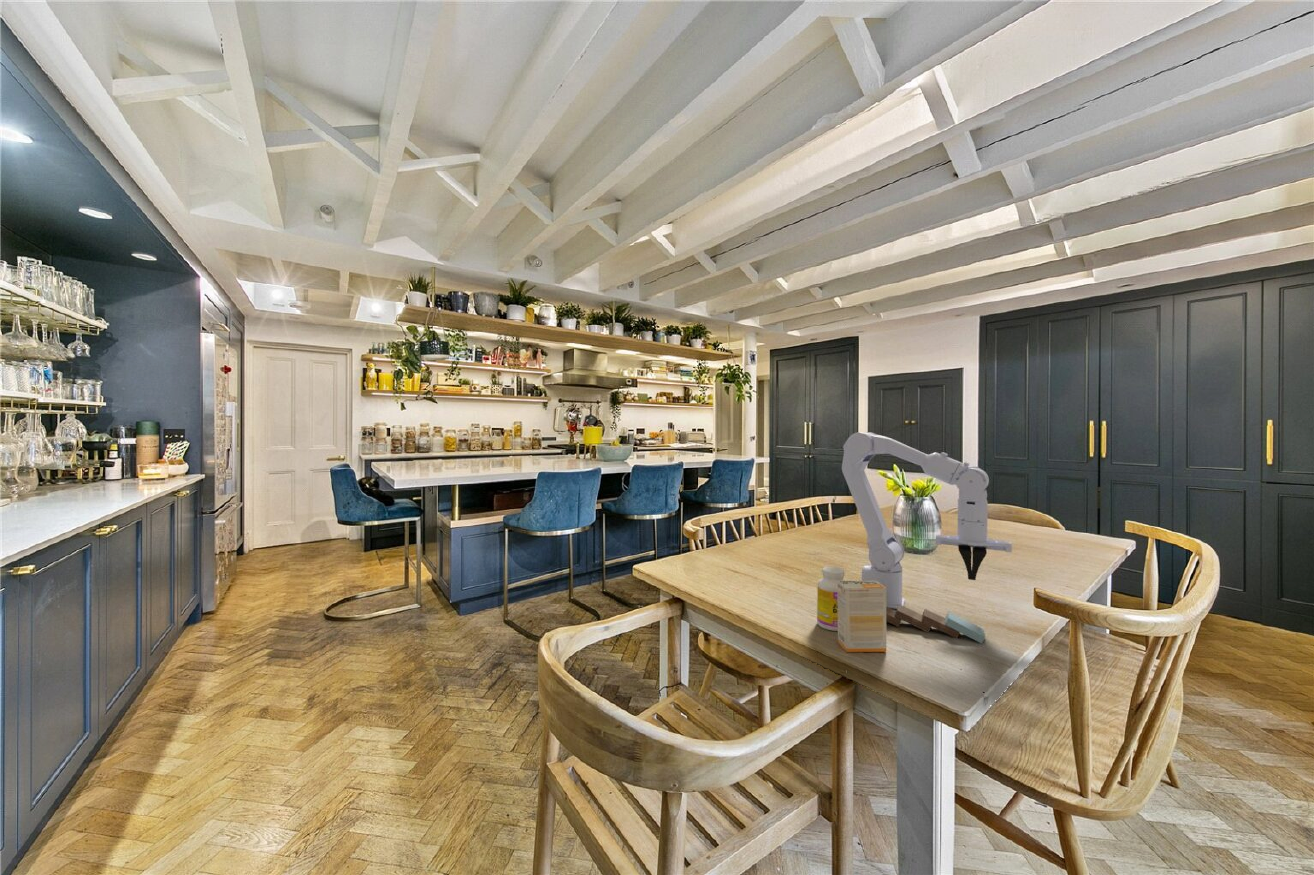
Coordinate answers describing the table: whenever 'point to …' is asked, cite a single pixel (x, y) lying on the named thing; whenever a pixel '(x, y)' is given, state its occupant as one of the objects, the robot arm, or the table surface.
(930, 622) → the domino
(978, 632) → the teal domino
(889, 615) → the domino
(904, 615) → the domino
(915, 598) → the table surface
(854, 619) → the supplement box
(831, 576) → the supplement bottle
